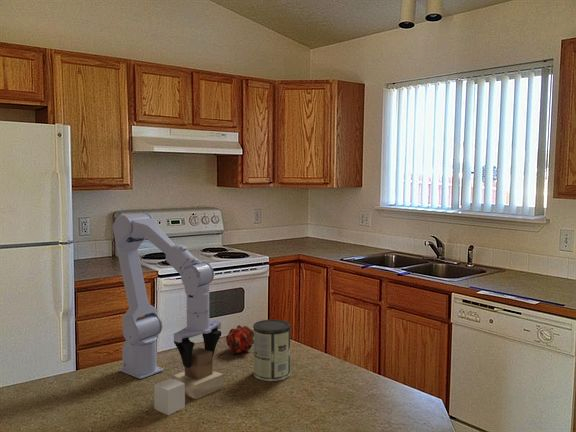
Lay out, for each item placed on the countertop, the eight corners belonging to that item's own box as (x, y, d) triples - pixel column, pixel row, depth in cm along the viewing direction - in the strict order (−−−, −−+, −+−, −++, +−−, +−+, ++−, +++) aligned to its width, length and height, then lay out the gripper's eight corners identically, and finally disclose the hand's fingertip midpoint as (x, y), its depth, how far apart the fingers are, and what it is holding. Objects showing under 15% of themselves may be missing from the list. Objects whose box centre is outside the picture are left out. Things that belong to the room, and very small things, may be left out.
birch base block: (173, 390, 133) (173, 375, 133) (201, 379, 140) (201, 365, 140) (195, 400, 127) (195, 385, 127) (223, 389, 134) (223, 374, 134)
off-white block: (154, 409, 122) (154, 384, 121) (171, 401, 126) (170, 378, 125) (168, 415, 119) (168, 390, 118) (184, 407, 123) (184, 383, 122)
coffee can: (264, 364, 150) (265, 317, 149) (296, 371, 146) (297, 322, 144) (246, 377, 141) (246, 326, 140) (279, 384, 137) (279, 332, 135)
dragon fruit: (248, 349, 168) (237, 367, 157) (227, 333, 168) (215, 350, 157) (263, 330, 165) (252, 348, 154) (241, 314, 166) (229, 331, 154)
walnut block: (184, 375, 133) (184, 352, 133) (199, 369, 137) (199, 347, 136) (197, 380, 130) (197, 357, 129) (212, 374, 134) (212, 351, 133)
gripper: (187, 319, 124) (187, 374, 125) (229, 307, 135) (229, 357, 137) (167, 314, 128) (168, 367, 129) (210, 302, 140) (210, 351, 141)
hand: (198, 362), depth 133 cm, fingers open, 7 cm apart
